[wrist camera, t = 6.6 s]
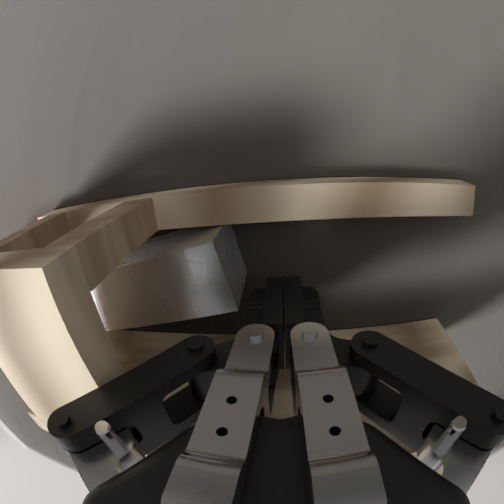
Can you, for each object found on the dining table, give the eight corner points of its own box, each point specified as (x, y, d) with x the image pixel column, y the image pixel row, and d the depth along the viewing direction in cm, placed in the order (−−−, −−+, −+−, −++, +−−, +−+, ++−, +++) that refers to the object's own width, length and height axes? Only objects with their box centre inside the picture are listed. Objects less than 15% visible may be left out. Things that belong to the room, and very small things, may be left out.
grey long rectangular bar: (228, 215, 13) (212, 242, 10) (247, 271, 14) (238, 310, 11) (61, 268, 16) (29, 294, 12) (81, 306, 17) (53, 336, 14)
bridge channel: (459, 179, 11) (583, 238, 4) (431, 336, 15) (482, 439, 7) (52, 210, 14) (-53, 270, 6) (98, 342, 18) (41, 428, 10)
